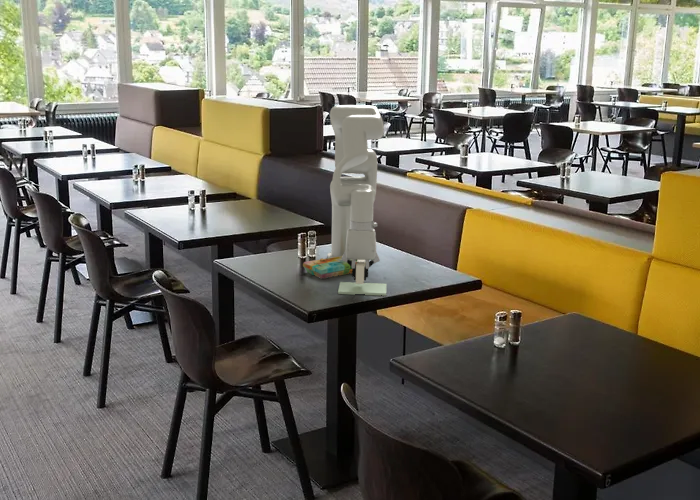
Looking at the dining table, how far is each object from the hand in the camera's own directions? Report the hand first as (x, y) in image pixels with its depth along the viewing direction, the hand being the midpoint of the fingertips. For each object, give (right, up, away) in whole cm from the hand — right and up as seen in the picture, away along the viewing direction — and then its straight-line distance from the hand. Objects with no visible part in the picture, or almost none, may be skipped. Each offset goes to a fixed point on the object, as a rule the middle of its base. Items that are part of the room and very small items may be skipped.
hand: (360, 278), depth 266 cm
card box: (0, 0, 0) cm, 0 cm away
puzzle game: (-9, +1, +22) cm, 23 cm away
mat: (+1, -4, +1) cm, 4 cm away
